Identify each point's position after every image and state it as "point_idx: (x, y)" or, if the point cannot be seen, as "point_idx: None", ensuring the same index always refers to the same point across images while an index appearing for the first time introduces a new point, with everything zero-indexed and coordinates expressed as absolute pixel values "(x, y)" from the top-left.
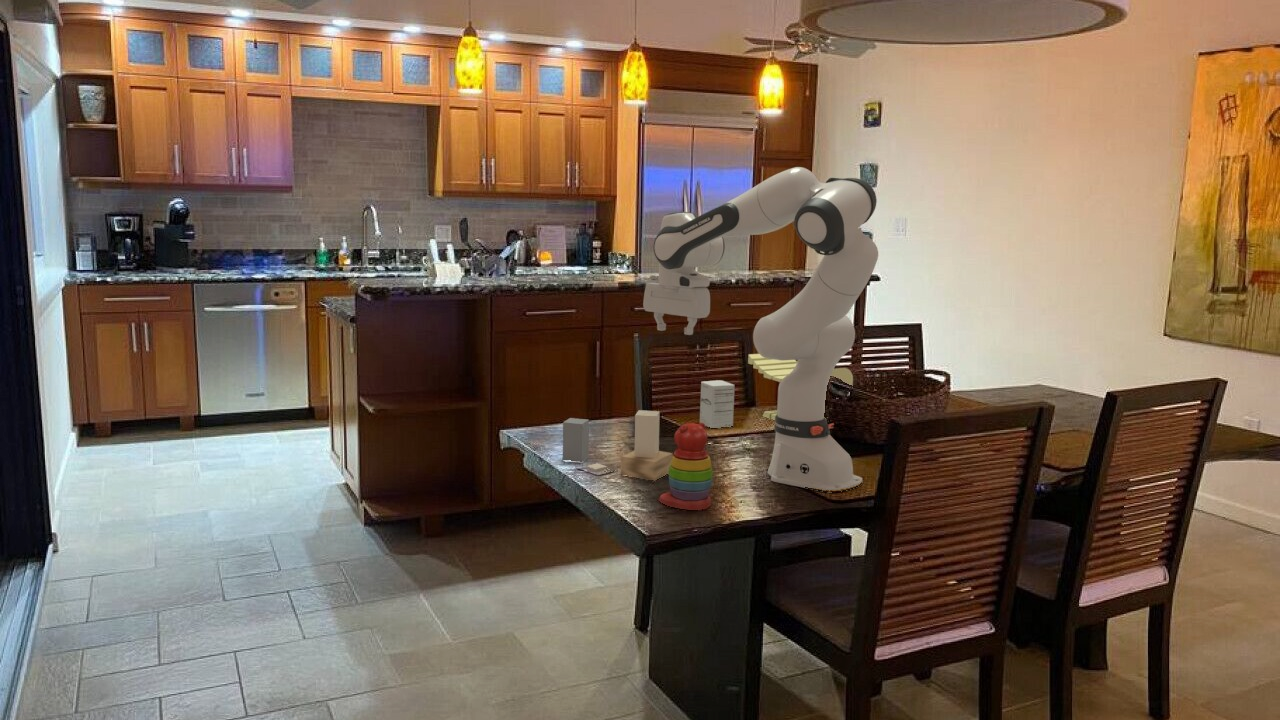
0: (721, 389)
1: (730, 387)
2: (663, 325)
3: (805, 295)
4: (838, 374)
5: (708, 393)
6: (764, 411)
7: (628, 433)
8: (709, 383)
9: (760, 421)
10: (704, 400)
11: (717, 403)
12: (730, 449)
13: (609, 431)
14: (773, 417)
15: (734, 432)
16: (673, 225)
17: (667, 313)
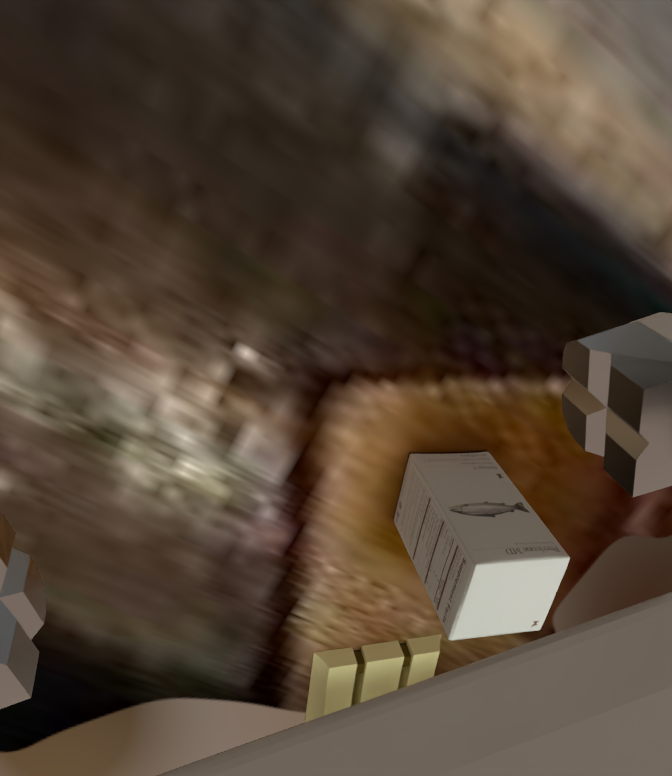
0: (457, 583)
1: (449, 619)
2: (624, 428)
3: None
4: None
5: (490, 534)
6: (439, 652)
7: (543, 137)
8: (521, 571)
9: (402, 612)
10: (501, 509)
11: (439, 530)
12: (127, 378)
13: (617, 77)
14: (390, 651)
15: (334, 496)
16: None
17: (569, 631)
